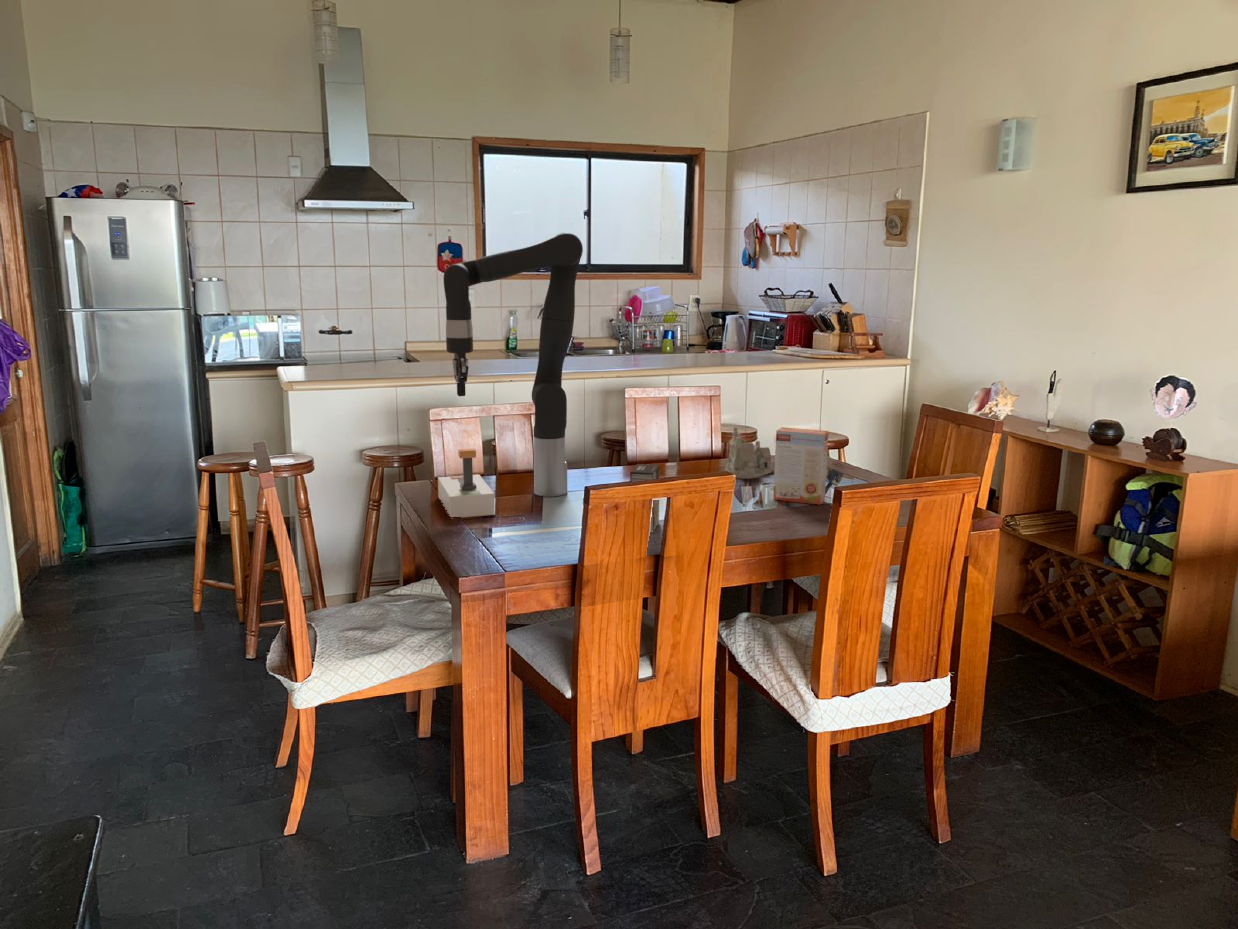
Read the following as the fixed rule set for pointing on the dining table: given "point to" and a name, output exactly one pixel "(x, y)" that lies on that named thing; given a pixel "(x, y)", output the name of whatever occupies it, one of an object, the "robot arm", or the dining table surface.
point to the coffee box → (647, 473)
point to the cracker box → (800, 465)
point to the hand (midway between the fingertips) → (461, 395)
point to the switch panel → (466, 497)
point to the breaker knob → (467, 468)
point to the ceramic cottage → (747, 458)
